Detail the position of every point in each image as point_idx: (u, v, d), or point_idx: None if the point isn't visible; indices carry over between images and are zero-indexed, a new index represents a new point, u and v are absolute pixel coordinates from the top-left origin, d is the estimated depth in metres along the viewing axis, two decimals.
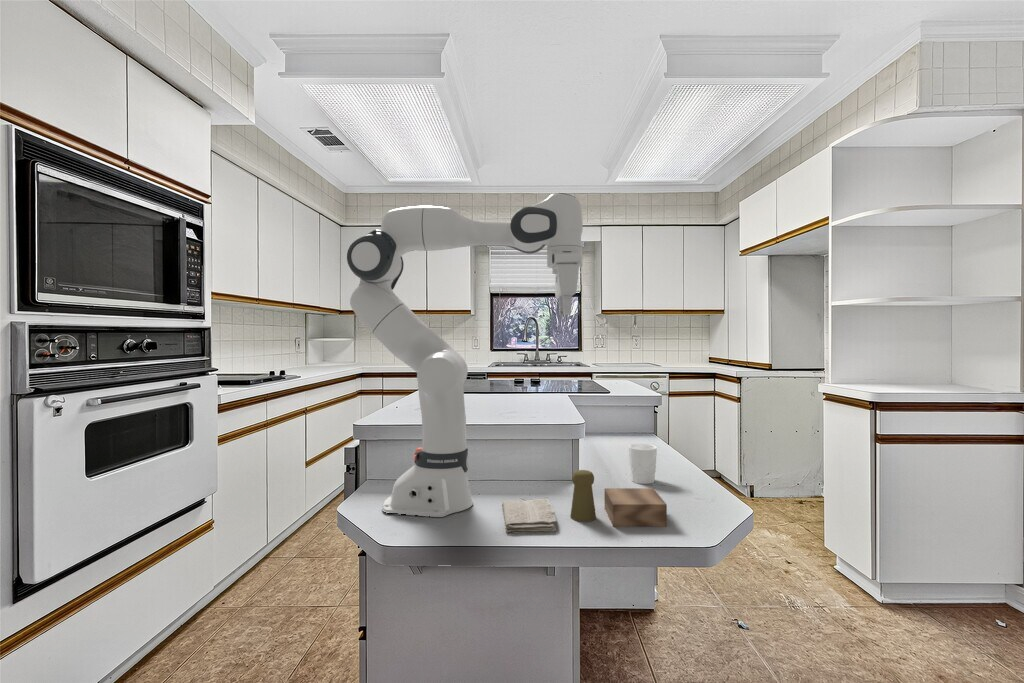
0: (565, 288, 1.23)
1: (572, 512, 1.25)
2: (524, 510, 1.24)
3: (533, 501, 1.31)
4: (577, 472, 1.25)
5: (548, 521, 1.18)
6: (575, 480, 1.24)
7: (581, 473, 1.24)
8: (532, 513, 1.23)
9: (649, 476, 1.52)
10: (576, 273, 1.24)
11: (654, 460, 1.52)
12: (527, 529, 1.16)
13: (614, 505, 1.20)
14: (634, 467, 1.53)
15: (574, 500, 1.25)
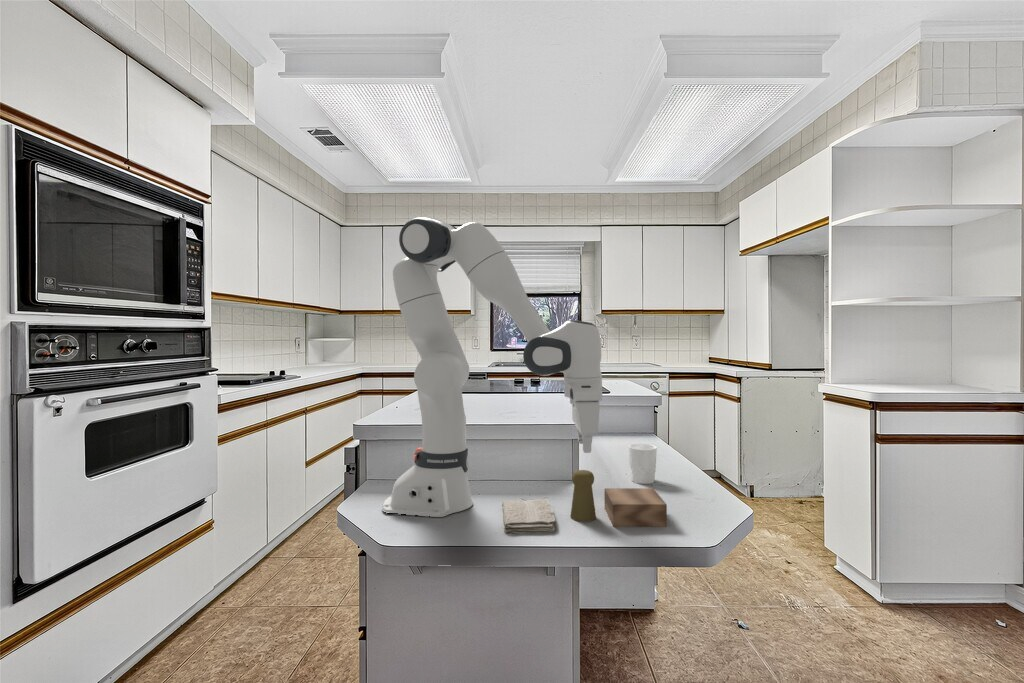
0: (586, 431, 1.15)
1: (572, 512, 1.25)
2: (523, 510, 1.24)
3: (533, 501, 1.31)
4: (577, 472, 1.25)
5: (547, 521, 1.18)
6: (575, 480, 1.24)
7: (581, 473, 1.24)
8: (531, 513, 1.23)
9: (649, 476, 1.52)
10: (597, 414, 1.15)
11: (654, 460, 1.52)
12: (526, 529, 1.16)
13: (614, 505, 1.20)
14: (634, 467, 1.53)
15: (574, 500, 1.25)
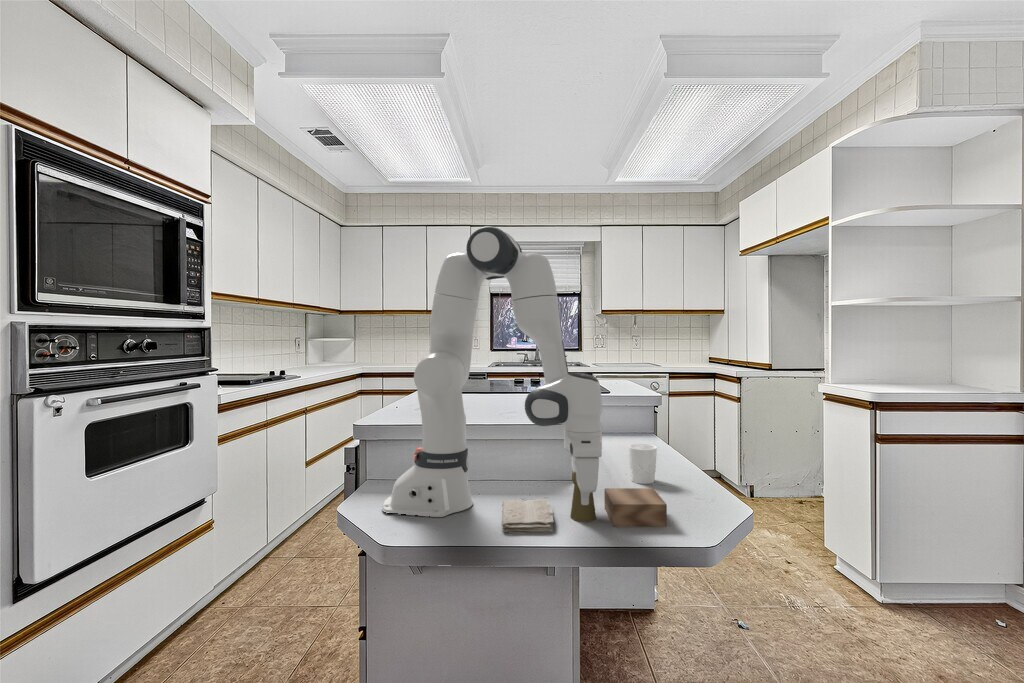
0: (584, 488, 1.15)
1: (572, 512, 1.25)
2: (522, 510, 1.24)
3: (533, 501, 1.31)
4: None
5: (545, 522, 1.17)
6: (575, 480, 1.24)
7: None
8: (530, 513, 1.22)
9: (649, 476, 1.52)
10: (596, 471, 1.16)
11: (654, 460, 1.52)
12: (523, 529, 1.16)
13: (614, 505, 1.20)
14: (634, 467, 1.53)
15: (574, 500, 1.25)
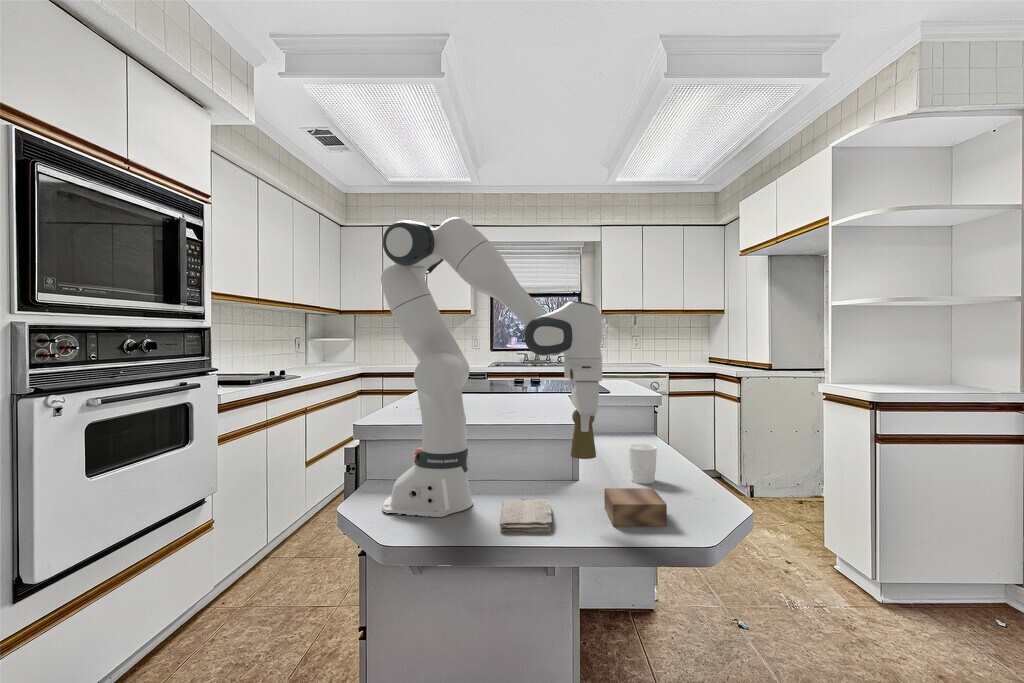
0: (585, 410, 1.15)
1: (572, 450, 1.24)
2: (521, 510, 1.24)
3: (533, 501, 1.31)
4: None
5: (543, 522, 1.17)
6: (575, 418, 1.23)
7: None
8: (529, 513, 1.22)
9: (649, 476, 1.52)
10: (597, 394, 1.15)
11: (654, 460, 1.52)
12: (521, 529, 1.16)
13: (614, 505, 1.20)
14: (634, 467, 1.53)
15: (574, 438, 1.24)
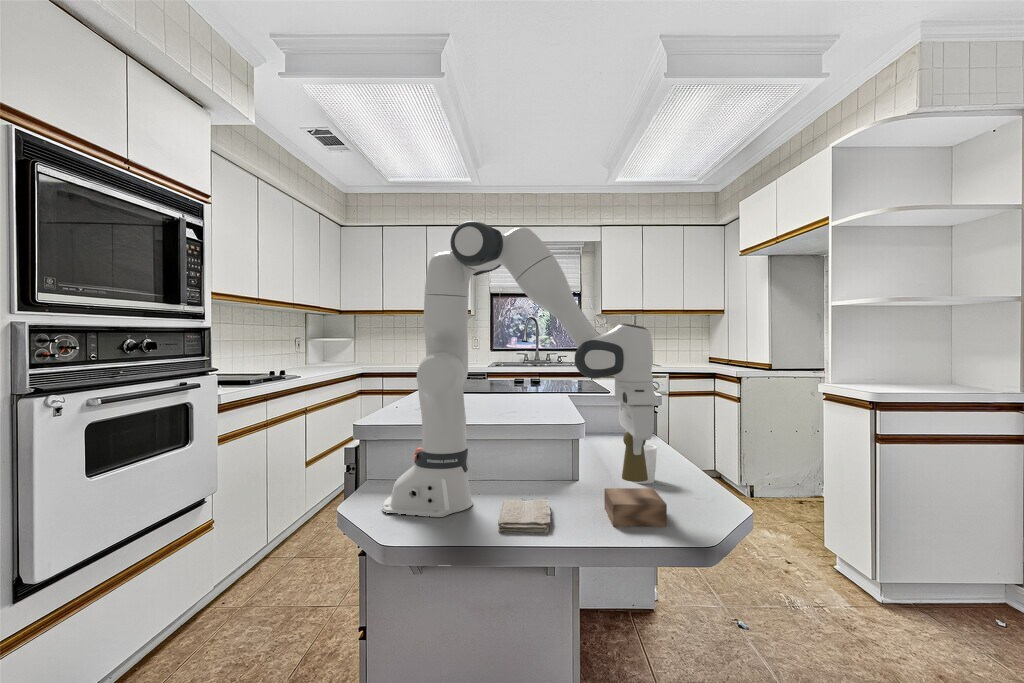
0: (640, 435, 1.15)
1: (624, 473, 1.24)
2: (521, 510, 1.24)
3: (533, 501, 1.31)
4: None
5: (541, 522, 1.17)
6: (627, 441, 1.23)
7: None
8: (528, 514, 1.22)
9: (649, 476, 1.52)
10: (652, 418, 1.15)
11: (654, 460, 1.52)
12: (519, 529, 1.16)
13: (614, 505, 1.20)
14: None
15: (626, 461, 1.24)
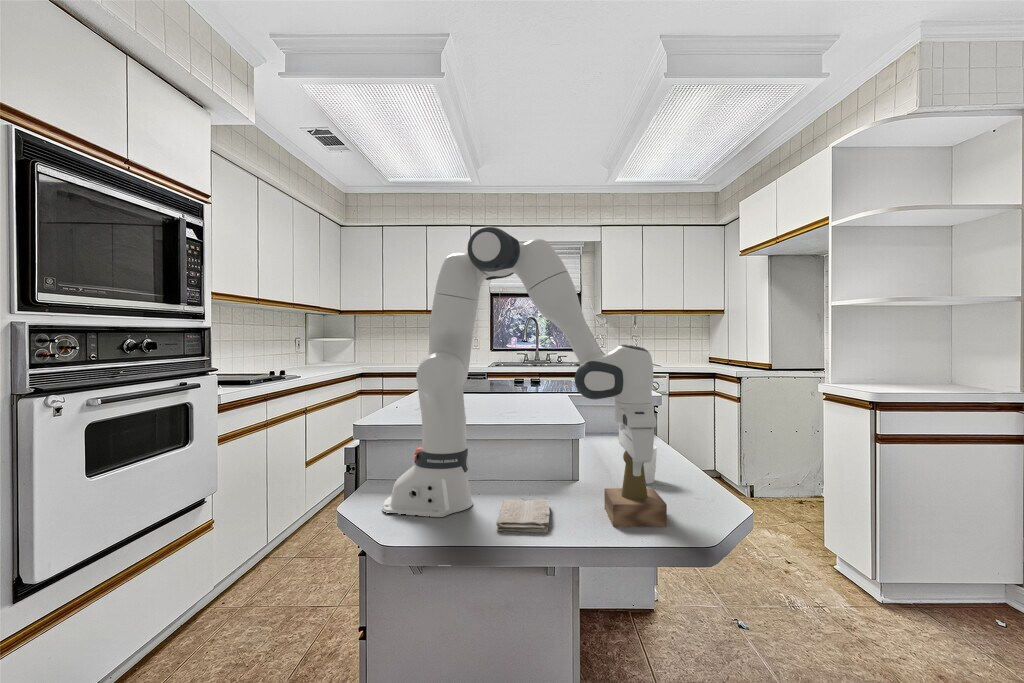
0: (640, 458, 1.15)
1: (624, 491, 1.24)
2: (520, 510, 1.24)
3: (533, 501, 1.30)
4: None
5: (539, 522, 1.17)
6: (627, 459, 1.24)
7: None
8: (527, 514, 1.22)
9: (649, 476, 1.52)
10: (652, 441, 1.15)
11: (654, 460, 1.52)
12: (517, 529, 1.16)
13: (614, 505, 1.20)
14: None
15: (626, 479, 1.24)
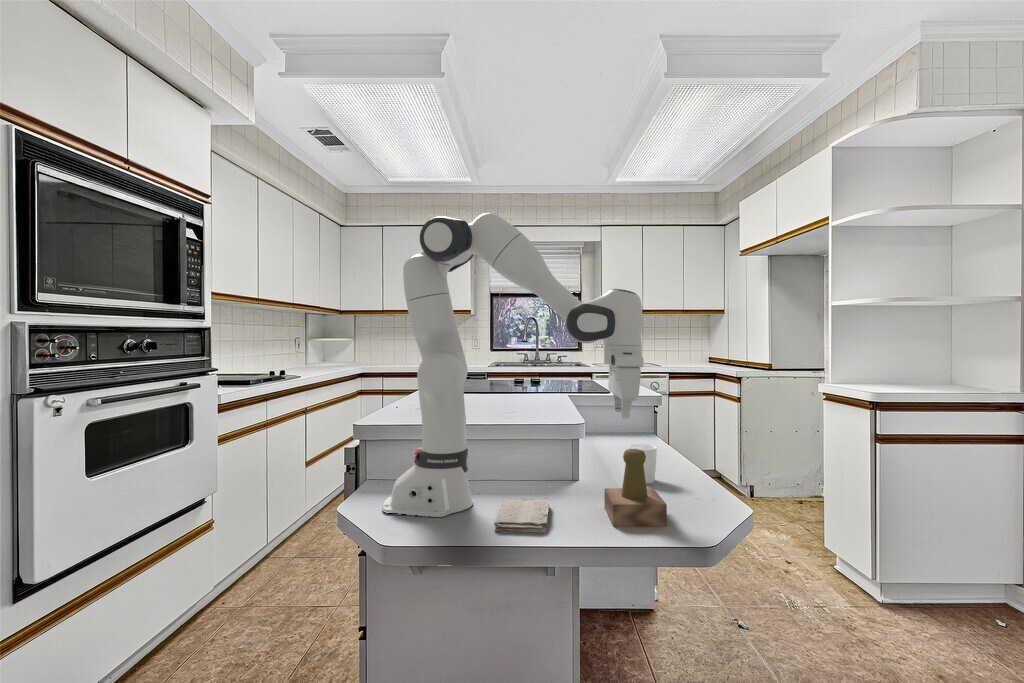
0: (626, 395, 1.18)
1: (624, 491, 1.24)
2: (519, 510, 1.24)
3: (533, 502, 1.30)
4: (629, 451, 1.25)
5: (537, 522, 1.17)
6: (627, 459, 1.24)
7: (634, 452, 1.23)
8: (525, 514, 1.22)
9: (649, 476, 1.52)
10: (638, 379, 1.18)
11: (654, 460, 1.52)
12: (515, 529, 1.16)
13: (614, 505, 1.20)
14: None
15: (626, 479, 1.24)
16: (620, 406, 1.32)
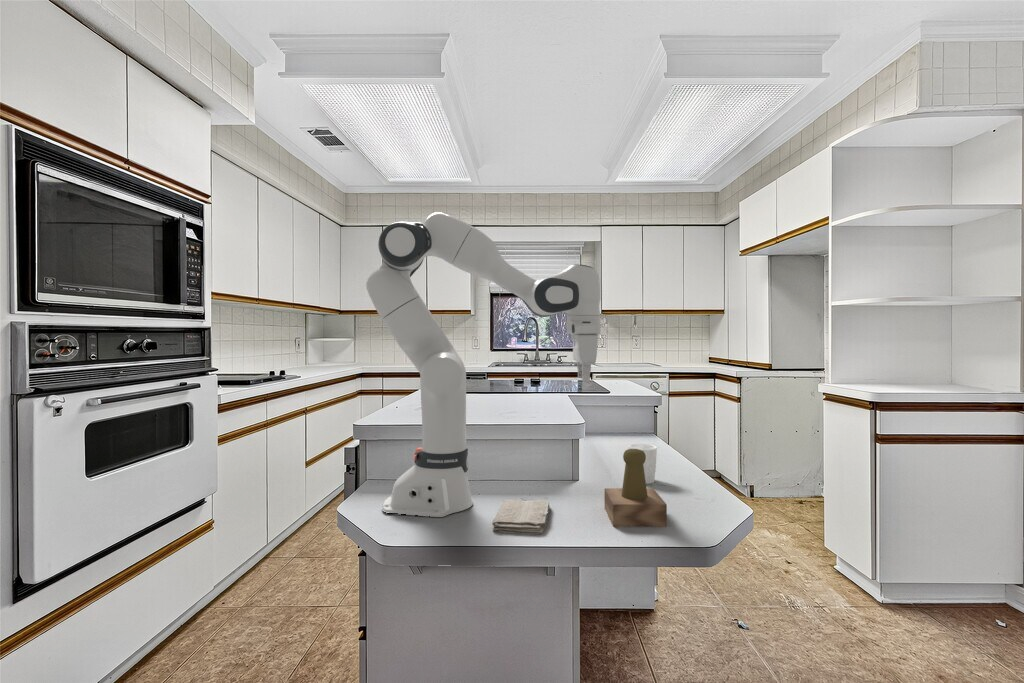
0: (585, 359, 1.30)
1: (624, 491, 1.24)
2: (518, 510, 1.24)
3: (533, 502, 1.30)
4: (629, 451, 1.25)
5: (535, 522, 1.17)
6: (627, 459, 1.24)
7: (634, 452, 1.23)
8: (524, 514, 1.22)
9: (649, 476, 1.52)
10: (595, 344, 1.30)
11: (654, 460, 1.52)
12: (513, 529, 1.16)
13: (614, 505, 1.20)
14: None
15: (626, 479, 1.24)
16: None
